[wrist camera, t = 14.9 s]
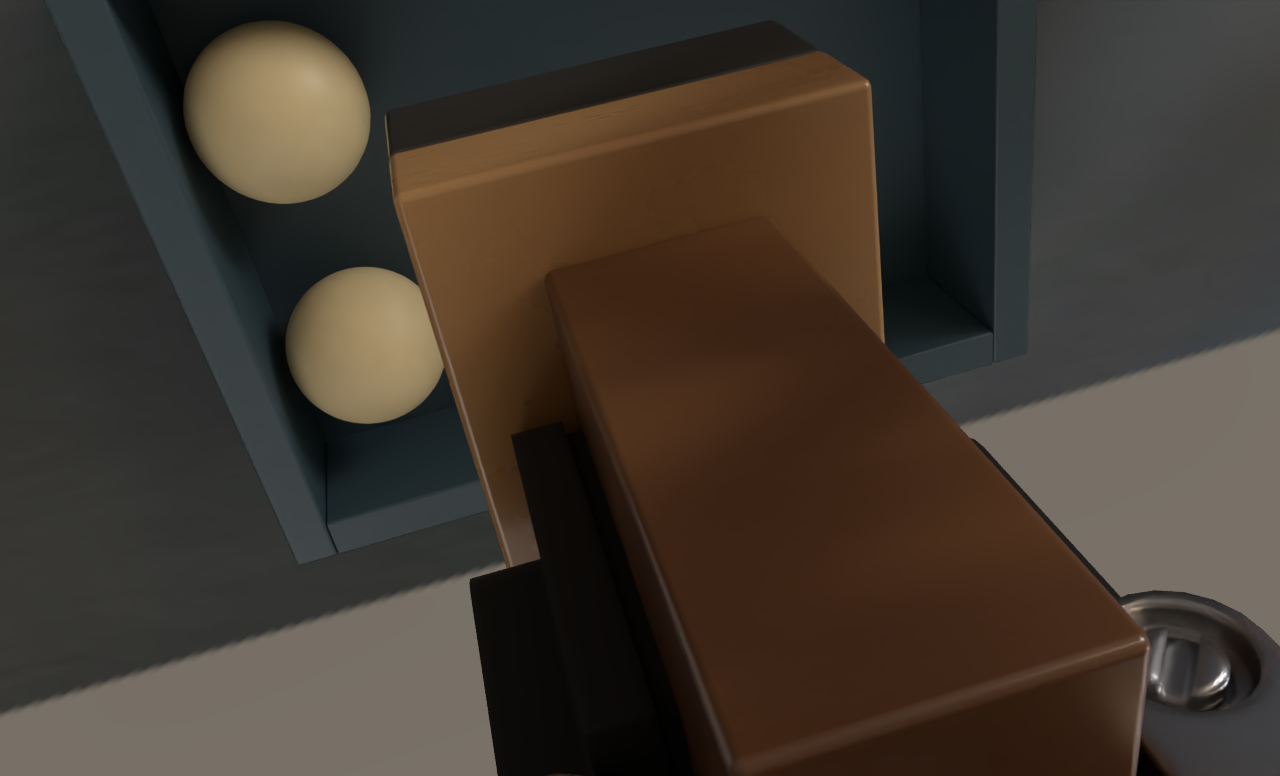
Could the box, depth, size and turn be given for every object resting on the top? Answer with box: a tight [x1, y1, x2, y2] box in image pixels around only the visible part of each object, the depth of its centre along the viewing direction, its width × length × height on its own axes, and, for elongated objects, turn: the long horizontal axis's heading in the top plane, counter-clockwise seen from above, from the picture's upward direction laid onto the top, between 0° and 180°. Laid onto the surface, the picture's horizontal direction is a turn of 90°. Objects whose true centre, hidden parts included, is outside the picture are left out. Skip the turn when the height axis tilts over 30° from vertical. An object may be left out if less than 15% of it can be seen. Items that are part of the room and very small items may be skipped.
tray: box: [44, 0, 1037, 565], centre depth 20 cm, size 16×12×4 cm
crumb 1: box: [183, 20, 371, 204], centre depth 18 cm, size 3×3×3 cm
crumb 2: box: [285, 267, 444, 424], centre depth 21 cm, size 3×3×3 cm
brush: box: [385, 20, 1152, 776], centre depth 10 cm, size 4×8×8 cm, turn 10°
